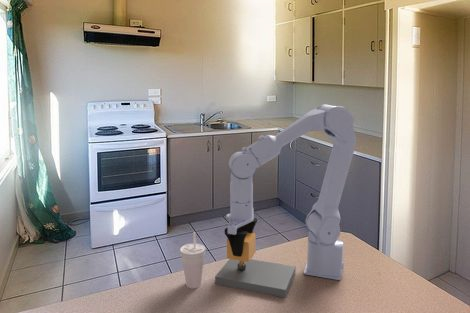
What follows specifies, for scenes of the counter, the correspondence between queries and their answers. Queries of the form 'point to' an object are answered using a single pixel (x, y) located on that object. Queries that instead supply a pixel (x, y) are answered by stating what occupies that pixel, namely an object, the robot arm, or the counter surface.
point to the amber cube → (244, 248)
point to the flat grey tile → (257, 276)
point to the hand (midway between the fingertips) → (241, 250)
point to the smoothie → (193, 262)
